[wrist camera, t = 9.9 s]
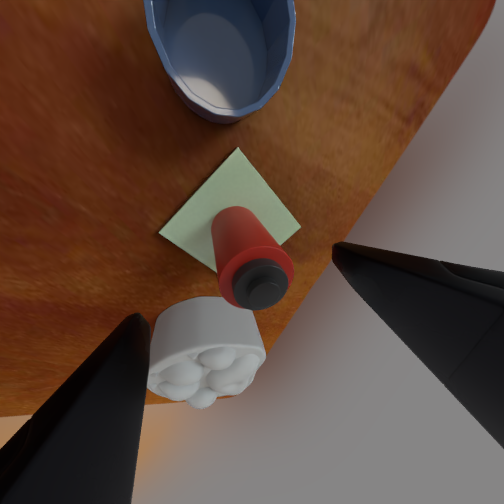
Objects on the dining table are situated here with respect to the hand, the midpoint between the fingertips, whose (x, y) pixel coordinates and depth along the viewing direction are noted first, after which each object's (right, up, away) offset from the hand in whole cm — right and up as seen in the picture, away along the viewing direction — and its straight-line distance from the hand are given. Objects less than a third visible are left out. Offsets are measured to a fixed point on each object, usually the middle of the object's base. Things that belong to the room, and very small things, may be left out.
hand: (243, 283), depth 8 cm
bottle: (-1, +4, +12) cm, 12 cm away
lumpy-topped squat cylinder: (-6, -9, +19) cm, 22 cm away
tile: (-1, +4, +12) cm, 13 cm away
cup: (-2, +16, +5) cm, 17 cm away
